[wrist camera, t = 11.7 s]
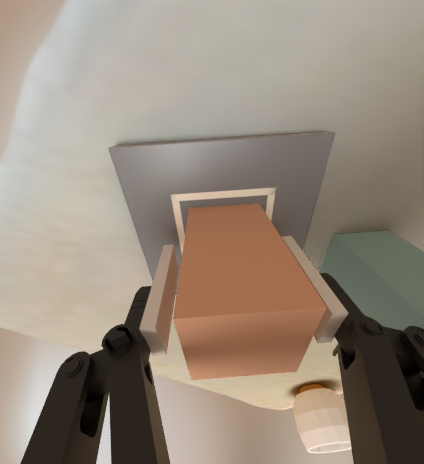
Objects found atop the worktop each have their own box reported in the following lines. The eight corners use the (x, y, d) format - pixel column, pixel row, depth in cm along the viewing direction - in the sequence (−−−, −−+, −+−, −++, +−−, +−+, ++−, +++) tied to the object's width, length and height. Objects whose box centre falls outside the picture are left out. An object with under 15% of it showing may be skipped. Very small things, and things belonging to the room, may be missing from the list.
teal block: (388, 230, 20) (527, 316, 11) (366, 270, 23) (460, 360, 14) (333, 234, 20) (432, 323, 11) (318, 273, 23) (387, 365, 14)
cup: (308, 399, 50) (328, 454, 42) (276, 392, 46) (291, 452, 38) (347, 383, 45) (379, 443, 36) (314, 374, 40) (342, 439, 32)
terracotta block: (259, 203, 15) (326, 307, 7) (254, 256, 19) (296, 371, 10) (188, 208, 15) (173, 319, 7) (196, 261, 19) (191, 380, 10)
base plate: (323, 131, 14) (335, 133, 13) (287, 276, 23) (292, 286, 21) (116, 145, 14) (108, 148, 13) (160, 285, 23) (157, 296, 21)
